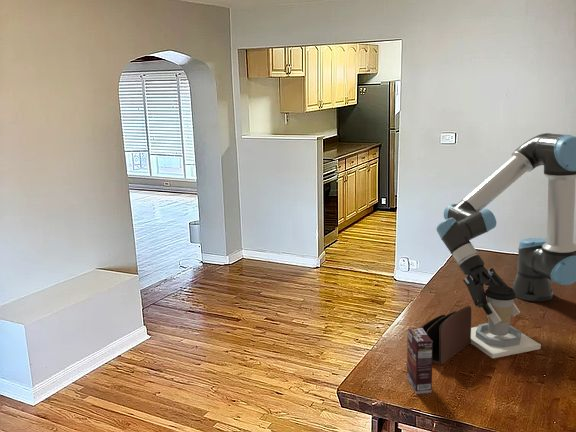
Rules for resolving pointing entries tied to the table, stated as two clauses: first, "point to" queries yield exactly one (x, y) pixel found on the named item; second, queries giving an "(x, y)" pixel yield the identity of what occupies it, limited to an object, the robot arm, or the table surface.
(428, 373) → the supplement box
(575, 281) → the robot arm
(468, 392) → the table surface
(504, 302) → the coffee cup
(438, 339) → the letter holder
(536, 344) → the dock board
